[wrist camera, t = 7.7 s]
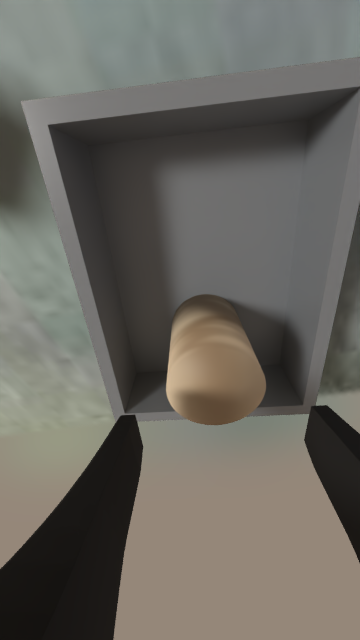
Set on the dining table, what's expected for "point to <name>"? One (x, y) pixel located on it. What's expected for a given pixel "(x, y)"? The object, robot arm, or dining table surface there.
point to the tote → (207, 217)
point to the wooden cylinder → (212, 363)
